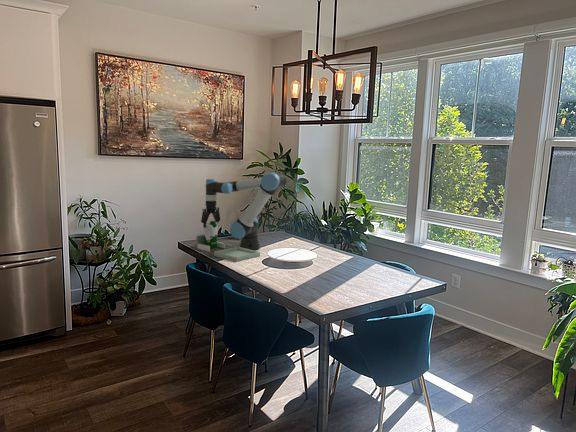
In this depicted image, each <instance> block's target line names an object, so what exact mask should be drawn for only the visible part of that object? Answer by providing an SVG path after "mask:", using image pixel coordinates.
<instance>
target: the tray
mask: <svg viewBox="0 0 576 432" xmlns="http://www.w3.org/2000/svg"><path fill="white" fill-rule="evenodd" d="M213 256H214V257H217V258H220V259H224V260H229V261H231V262H234V263H238V262H243V261H245V260H246V261H247V260H251V259H255V258H258V257H259V258H260V257H261V252H260V251H258V250H250V249H246V248H242V247H239V246H235V247H229V248H223V249H220V250H215V251H213Z"/></svg>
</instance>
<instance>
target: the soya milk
mask: <svg viewBox="0 0 576 432" xmlns="http://www.w3.org/2000/svg"><path fill="white" fill-rule="evenodd" d="M218 228H219V223H218V224H216V221H215V220H210V221H209V222H208V223H207V232H204V235H205V238H204V245H207V246H210V250H214V249H215V250H216V249H218V247H217V242H218Z"/></svg>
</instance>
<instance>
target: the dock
mask: <svg viewBox="0 0 576 432" xmlns="http://www.w3.org/2000/svg"><path fill="white" fill-rule="evenodd" d="M195 237H196V239H195V240H196V242H195V243H196V244H195V245H196V246H195V247H196V248H195V249H199V250H201V251H202V250H203V251H206V252H210V251H211V249H210V246H207V245H204V238H205V234H200V235H199V234H198V235H196V236H195ZM217 248H222V249H226V243H225V242H220V241H217Z"/></svg>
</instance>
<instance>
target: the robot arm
mask: <svg viewBox="0 0 576 432" xmlns="http://www.w3.org/2000/svg"><path fill="white" fill-rule="evenodd" d="M287 182H288V181H287V177H286V175H285V174H284V173H283V172H280V171H276V172H274V171H273V172H267V173H265V174H264V175H263V176H261V177H255V178H249V179H243V180H234V181H228V182H227V181H226V182H225V181H224V182H219V181H218V180H217V179H216V178H206V180H205V208H202V214H201V220H200V222H201V223H202V224H203V232H204V233H205V232H207V222H208V220H209V217H210V215H212V216H213V219H214V221H216V224H218V225H219V222H220V221H221V216H220V207H219V206H217V194H224V195H225V194H227V195H228V194H231V193H235V192H236V193H237V192H242V191H243V192H244V191H249V190H257V189H259V190H258V191H257V193H256V195H255V196H254V197H253V199H252V200H251V202H250V204H249V205H248V207H247V208H246V210H245V211H244V213H243V214H242V215H240V216H238V218H237V219H236V220H235V222H233V223H232V224H231V225H230V227H229V231H230V235H231V236H232V237H233V238H234V239H239V240H240V242H239V243H240V244H239V246H238V247H242V248H246V249H250V250H254V251H258V250H260V248H261V246H260V242H259V239H258V236H259V235H258V234H259V220H258V218H257V217H258V216H259V214H260V213H261V211H262V210H263V209H264V206H265V205H266V204H267V202H268V201H269V200H270V198H271V197H273V196H275V194H276V193H277V191H278V190H280V189H283V188H284V187H286V185H287ZM240 238H242V239H240Z"/></svg>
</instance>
